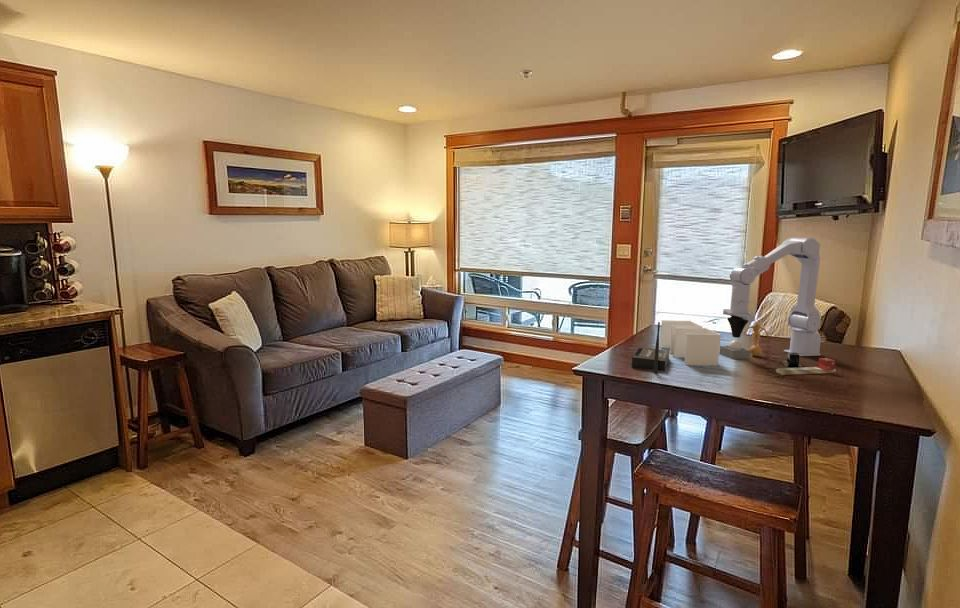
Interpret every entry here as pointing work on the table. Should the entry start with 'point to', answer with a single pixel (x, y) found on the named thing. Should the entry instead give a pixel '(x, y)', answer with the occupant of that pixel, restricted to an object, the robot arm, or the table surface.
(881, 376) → the table surface
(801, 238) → the robot arm
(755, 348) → the figurine
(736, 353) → the housing
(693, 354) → the white brackets
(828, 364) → the space track
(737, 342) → the white glossy sphere
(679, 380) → the table surface
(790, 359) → the black piece
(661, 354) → the wireless controller
